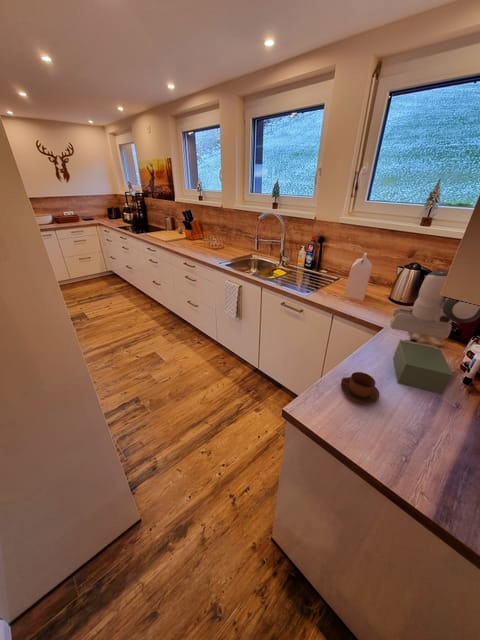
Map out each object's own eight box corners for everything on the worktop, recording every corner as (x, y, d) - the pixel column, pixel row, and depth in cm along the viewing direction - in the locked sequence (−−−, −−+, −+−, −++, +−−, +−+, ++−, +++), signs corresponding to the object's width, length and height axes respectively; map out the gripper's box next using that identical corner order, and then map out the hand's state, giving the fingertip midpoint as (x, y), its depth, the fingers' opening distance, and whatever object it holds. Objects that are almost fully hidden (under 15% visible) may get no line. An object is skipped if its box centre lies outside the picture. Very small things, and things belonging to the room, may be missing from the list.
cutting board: (433, 329, 129) (434, 326, 128) (443, 348, 114) (445, 345, 114) (406, 323, 133) (407, 321, 132) (412, 341, 118) (413, 339, 117)
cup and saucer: (347, 406, 83) (351, 392, 80) (334, 380, 93) (338, 367, 90) (384, 407, 83) (390, 393, 80) (368, 381, 93) (372, 367, 91)
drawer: (393, 347, 112) (398, 333, 109) (426, 354, 108) (432, 340, 105) (398, 374, 96) (405, 359, 93) (438, 383, 92) (445, 368, 89)
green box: (392, 358, 106) (399, 341, 102) (431, 367, 102) (440, 349, 98) (397, 383, 93) (406, 364, 89) (442, 394, 89) (453, 374, 85)
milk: (362, 300, 156) (375, 257, 144) (343, 296, 161) (353, 254, 149) (365, 294, 166) (377, 253, 153) (346, 290, 170) (356, 250, 158)
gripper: (396, 309, 103) (385, 339, 109) (458, 320, 96) (443, 351, 103) (394, 303, 108) (384, 332, 114) (453, 313, 101) (439, 343, 108)
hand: (412, 341), depth 109 cm, fingers closed
